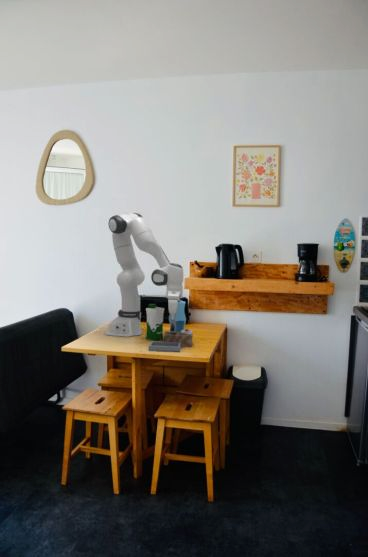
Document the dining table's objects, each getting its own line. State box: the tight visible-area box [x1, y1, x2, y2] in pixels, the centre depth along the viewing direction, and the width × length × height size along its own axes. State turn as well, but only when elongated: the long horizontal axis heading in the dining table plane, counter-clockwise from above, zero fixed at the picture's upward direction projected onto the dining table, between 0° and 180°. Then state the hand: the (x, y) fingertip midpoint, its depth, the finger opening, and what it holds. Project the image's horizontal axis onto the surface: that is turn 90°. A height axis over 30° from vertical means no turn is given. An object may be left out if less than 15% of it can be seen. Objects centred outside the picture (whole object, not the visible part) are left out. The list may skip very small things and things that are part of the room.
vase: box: [168, 299, 187, 332], centre depth 249 cm, size 8×8×20 cm
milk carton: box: [145, 303, 165, 342], centre depth 236 cm, size 9×9×20 cm
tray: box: [148, 340, 181, 353], centre depth 216 cm, size 16×10×2 cm, turn 87°
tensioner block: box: [162, 328, 194, 348], centre depth 226 cm, size 16×9×9 cm, turn 87°
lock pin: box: [169, 310, 177, 332], centre depth 225 cm, size 4×4×12 cm
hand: (173, 318), depth 225 cm, fingers closed on lock pin, 3 cm apart
